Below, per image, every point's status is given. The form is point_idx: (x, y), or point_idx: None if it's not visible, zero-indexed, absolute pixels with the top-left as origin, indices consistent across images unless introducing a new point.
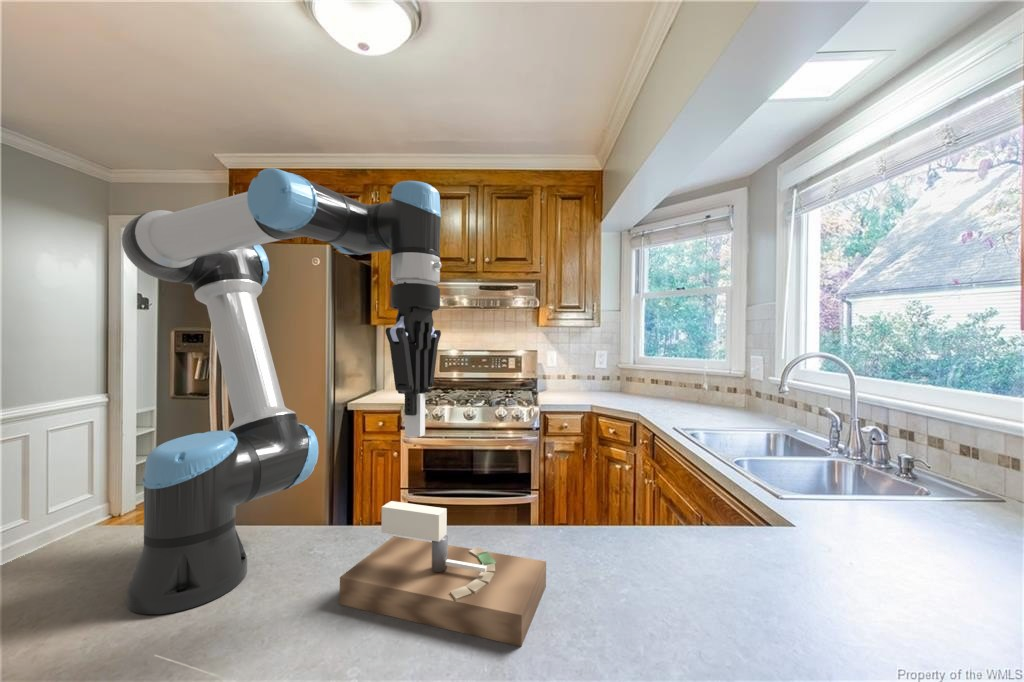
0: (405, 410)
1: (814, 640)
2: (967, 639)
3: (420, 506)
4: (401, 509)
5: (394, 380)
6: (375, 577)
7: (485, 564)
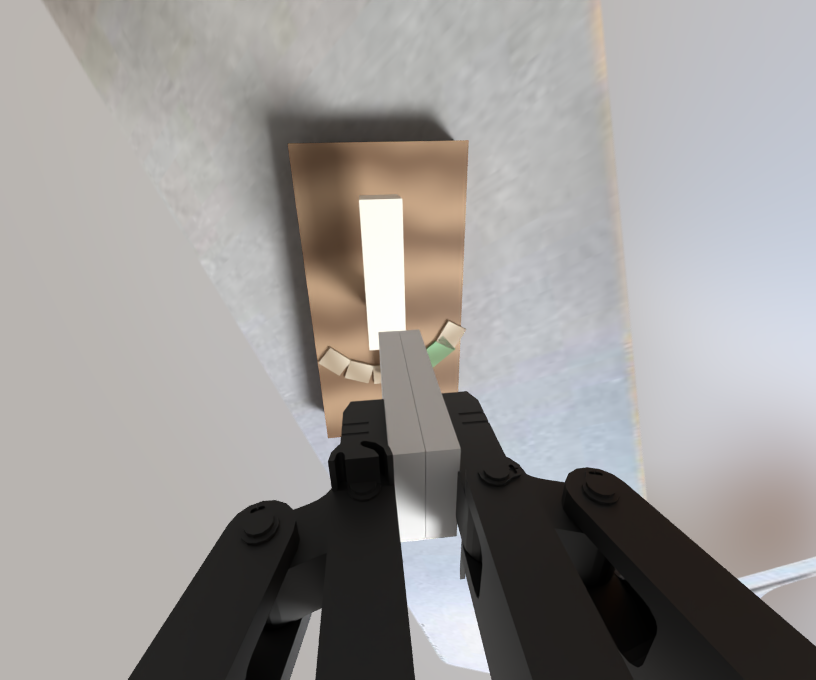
0: (342, 422)
1: (439, 593)
2: (472, 655)
3: (396, 290)
4: (364, 258)
5: (184, 594)
6: (316, 212)
7: None
